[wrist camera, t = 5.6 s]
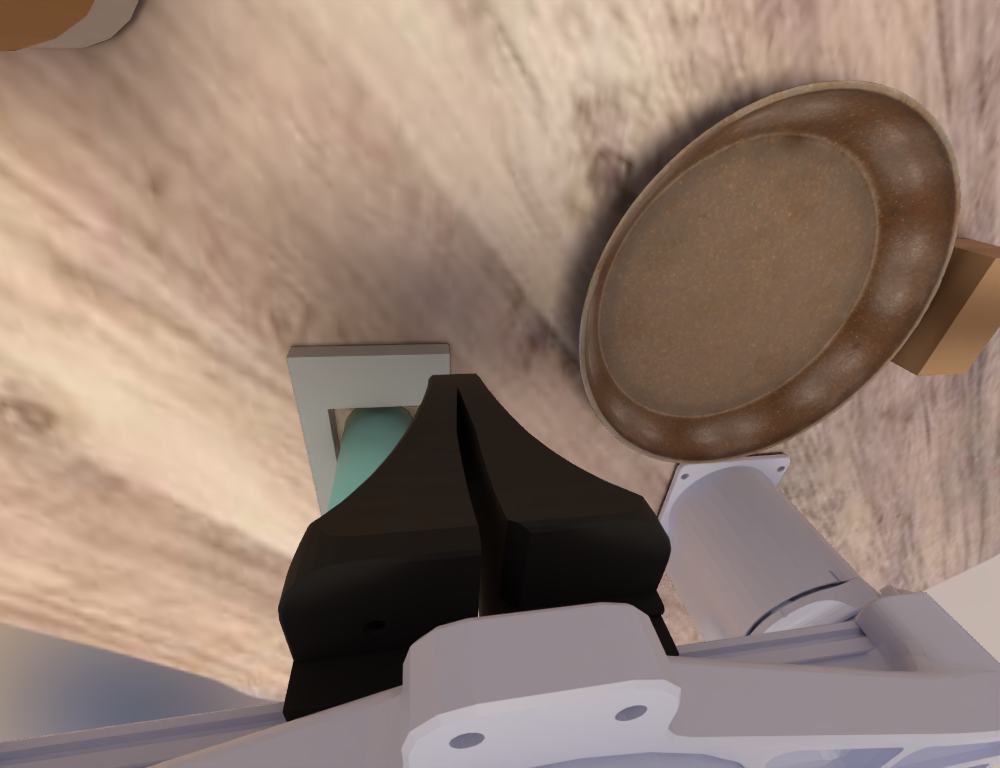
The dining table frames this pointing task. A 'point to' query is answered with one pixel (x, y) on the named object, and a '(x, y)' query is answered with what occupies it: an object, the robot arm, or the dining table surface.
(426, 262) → the dining table surface
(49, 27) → the coffee cup
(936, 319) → the stop block
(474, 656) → the robot arm
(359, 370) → the socket block
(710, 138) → the plant saucer
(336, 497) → the dowel
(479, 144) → the dining table surface
